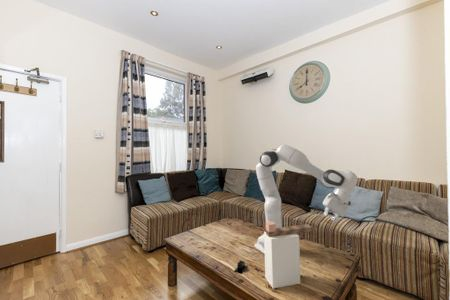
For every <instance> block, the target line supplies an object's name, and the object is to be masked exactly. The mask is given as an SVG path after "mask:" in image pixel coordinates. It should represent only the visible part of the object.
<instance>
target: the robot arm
mask: <svg viewBox="0 0 450 300" xmlns="http://www.w3.org/2000/svg"><path fill="white" fill-rule="evenodd" d="M281 161H282V162H284V163H286V164H288V165H290V166H291V167H293V168H296V169H298V170H302V171H303V172H305V173H307V174H309V175H310V176H312V177H314V178H315V179H317V180H318V181H319V182H320V183H321V184H322V186H324V187H325V188H327V189H332V188H334V190H333V191H330V192H329V194H326V197H325V198H324V199H323V201H322V205H323V206H324V212H323V216H326V217H328V215H329V211H332V212H333V213H334V215H333V216H331V220H332V221H333V222H336V220H337V219H339V217H342V218H343V217H344V216H345V215H346V214H347V212H348V210H349V208H350V207H352V202H351V195H352V192H353V191H354V190H355V188H356V186H357V183H358V181H359V180H358V176H357V175H356V174H355V173H354V172H352V171H350V170H347V169H346V170H335V169H328V170H325V171H324V170H322V169H321V168H319V167H318V166H315V165H313V163H311V161H310V160H309V158H308V156H307V155H306V154H304V152H303V151H301V150H299V149H297V148H295V147H293V146H290V145H288V144H280V146H279V147H277V149H276V148H272V149H268V150H266V151H264V152H263V153H261V154H260V156H259V162H258V163H257V164H256V165H255V173H256V178H257V180H258V185H259V189H260V191H261V193H262V195H263V197H264V199H265V201H264V204H263V205H264V206H263V207H264V217H265V223H266V222H274V223H275V224H276V228H281V227H283V226H282V224H283V223H282V222H283V221H282V199H281V195H280V192H279V189H278V187H277V184H276V181H275V177H274V175H273V171H272V168H273V167H274V166H276V165H277V164H279V163H280V162H281ZM262 232H263V234H262V235H260V236H258V238H257V242H255V243H254V248H256V249H257V250H258V251H260V252H261V253H263V255H265V251H264V232H266V228H265V229H264V230H262Z"/></svg>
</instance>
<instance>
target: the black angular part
mask: <svg viewBox="0 0 450 300" xmlns="http://www.w3.org/2000/svg"><path fill="white" fill-rule="evenodd" d="M245 264H246V263H245V261H243V260H239V261H238V262H237V267H236V268H235V269H234V271H233V272H234V273H236V274H239V275H243V274H244V272H245V271H246V270H247V269H248V268H249V265H245Z"/></svg>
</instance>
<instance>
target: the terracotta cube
mask: <svg viewBox="0 0 450 300" xmlns="http://www.w3.org/2000/svg"><path fill="white" fill-rule="evenodd" d="M265 229H266V230H267V231H268V232H276V224H275V223H274V222H266V221H265Z"/></svg>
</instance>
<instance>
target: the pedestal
mask: <svg viewBox="0 0 450 300" xmlns="http://www.w3.org/2000/svg"><path fill="white" fill-rule="evenodd" d="M263 234H264V251H265V254H264V276H265V277H264V278H265V279H266V280H267V282H268V283H269V285H270V287H272V289H276V288H282V287H283V288H284V287H289V286H293V285H294V286H295V285H299V284H301V264H300V263H301V258H300V257H301V255H300V250H301V249H300V235H299V233H297V234H289V235H282V236H274V237H269V236H268V235H267V234H266V232H265V231H264V232H263Z"/></svg>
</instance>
